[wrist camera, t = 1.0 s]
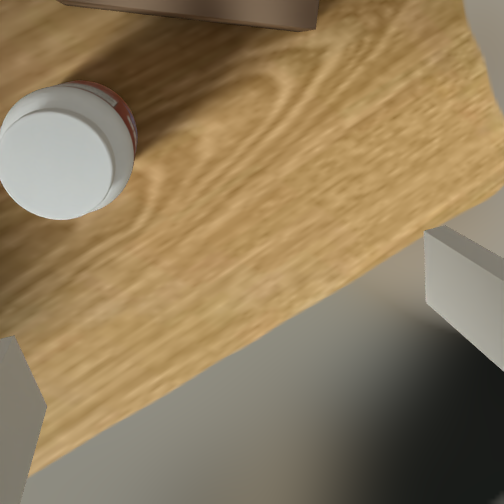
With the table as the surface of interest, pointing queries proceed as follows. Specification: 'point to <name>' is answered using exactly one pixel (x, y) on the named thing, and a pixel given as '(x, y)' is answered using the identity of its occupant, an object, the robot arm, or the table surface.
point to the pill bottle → (67, 149)
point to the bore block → (220, 11)
